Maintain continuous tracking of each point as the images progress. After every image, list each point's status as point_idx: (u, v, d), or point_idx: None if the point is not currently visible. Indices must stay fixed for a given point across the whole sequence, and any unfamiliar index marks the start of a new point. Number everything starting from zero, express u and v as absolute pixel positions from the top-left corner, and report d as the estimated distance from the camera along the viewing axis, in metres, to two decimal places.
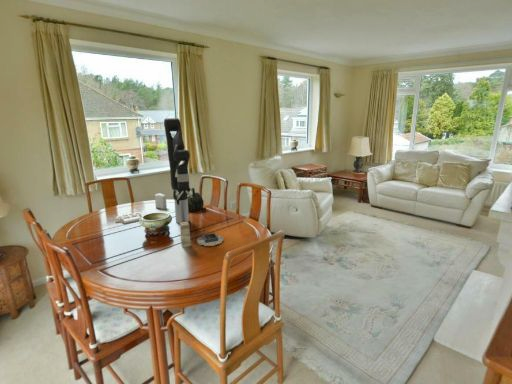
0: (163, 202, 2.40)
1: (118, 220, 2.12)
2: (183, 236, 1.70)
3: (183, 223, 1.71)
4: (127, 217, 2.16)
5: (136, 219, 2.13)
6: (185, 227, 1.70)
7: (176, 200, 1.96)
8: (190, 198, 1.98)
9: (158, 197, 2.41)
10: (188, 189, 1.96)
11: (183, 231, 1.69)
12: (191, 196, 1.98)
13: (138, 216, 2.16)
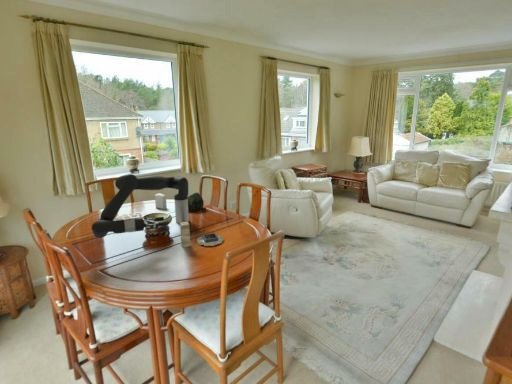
0: (163, 202, 2.40)
1: None
2: (183, 236, 1.70)
3: (183, 223, 1.71)
4: (127, 217, 2.16)
5: None
6: (185, 227, 1.70)
7: None
8: None
9: (158, 197, 2.41)
10: None
11: (183, 231, 1.69)
12: None
13: (138, 216, 2.16)
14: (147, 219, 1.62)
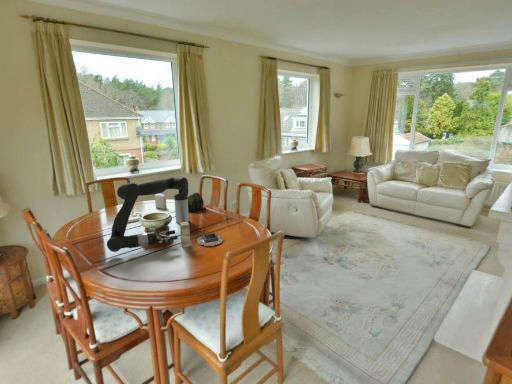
0: (163, 202, 2.40)
1: None
2: (183, 236, 1.70)
3: (183, 223, 1.71)
4: None
5: (136, 219, 2.13)
6: (185, 227, 1.70)
7: (169, 231, 1.74)
8: None
9: (158, 197, 2.41)
10: None
11: (183, 231, 1.69)
12: None
13: (138, 216, 2.16)
14: (159, 233, 1.67)
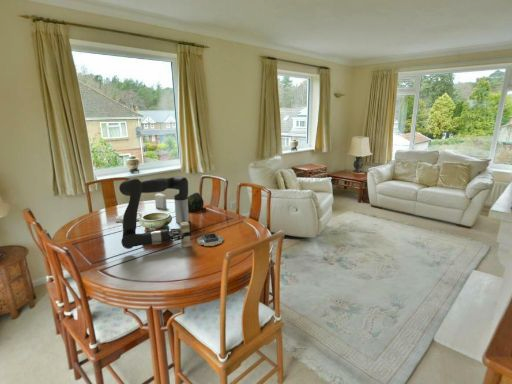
0: (163, 202, 2.40)
1: (118, 220, 2.12)
2: None
3: (183, 223, 1.71)
4: None
5: None
6: (185, 227, 1.70)
7: None
8: None
9: (158, 197, 2.41)
10: None
11: (183, 231, 1.69)
12: None
13: (138, 216, 2.16)
14: (171, 231, 1.70)
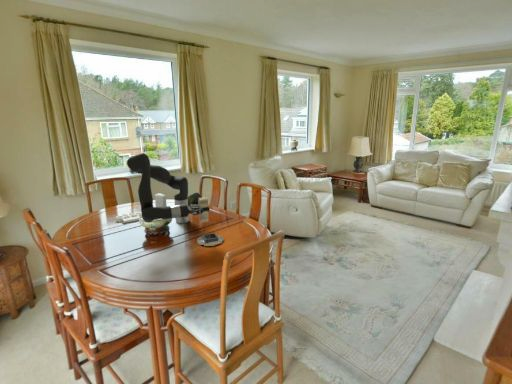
0: (163, 202, 2.40)
1: (118, 220, 2.12)
2: None
3: (202, 198, 1.73)
4: (127, 217, 2.16)
5: (136, 219, 2.13)
6: (204, 202, 1.71)
7: None
8: None
9: (158, 197, 2.41)
10: None
11: (202, 206, 1.71)
12: None
13: (138, 216, 2.16)
14: (190, 206, 1.71)
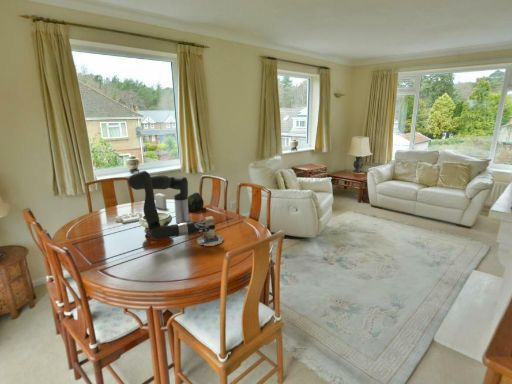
0: (163, 202, 2.40)
1: (118, 219, 2.13)
2: None
3: (208, 217, 1.77)
4: (127, 217, 2.17)
5: (135, 219, 2.13)
6: (210, 221, 1.75)
7: None
8: None
9: (158, 197, 2.41)
10: None
11: (208, 225, 1.75)
12: None
13: (138, 216, 2.16)
14: (197, 223, 1.75)
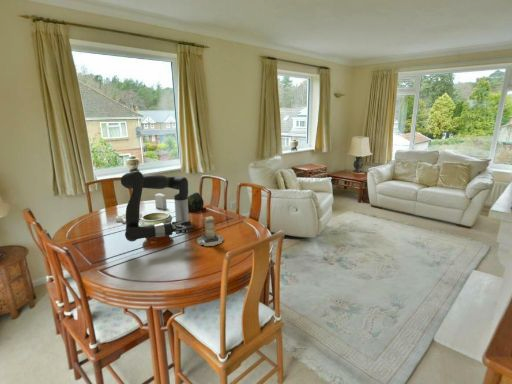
0: (163, 202, 2.40)
1: (118, 219, 2.13)
2: (208, 230, 1.76)
3: (208, 217, 1.77)
4: None
5: None
6: (210, 221, 1.75)
7: (184, 222, 1.76)
8: None
9: (158, 197, 2.41)
10: None
11: (208, 225, 1.75)
12: None
13: None
14: (175, 224, 1.70)
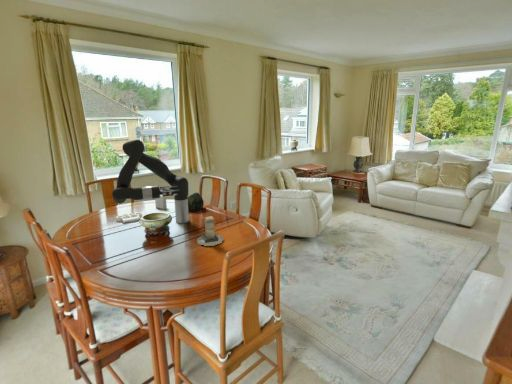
0: (163, 202, 2.40)
1: (118, 219, 2.13)
2: (208, 230, 1.76)
3: (208, 217, 1.77)
4: (127, 217, 2.17)
5: (135, 219, 2.13)
6: (210, 221, 1.75)
7: None
8: None
9: None
10: None
11: (208, 225, 1.75)
12: None
13: (138, 216, 2.16)
14: (163, 188, 1.72)
